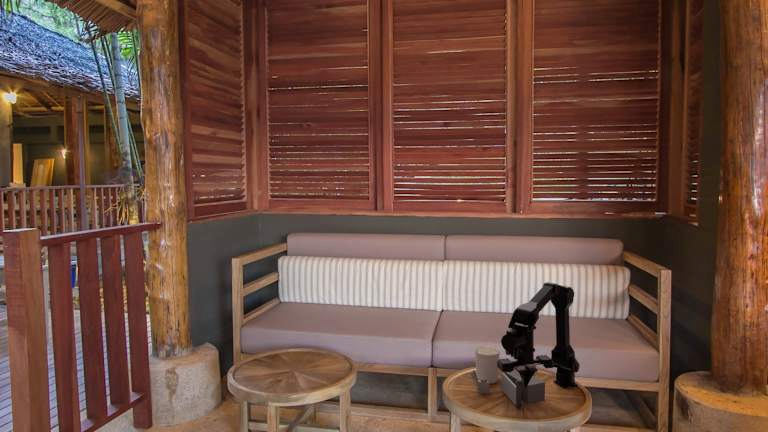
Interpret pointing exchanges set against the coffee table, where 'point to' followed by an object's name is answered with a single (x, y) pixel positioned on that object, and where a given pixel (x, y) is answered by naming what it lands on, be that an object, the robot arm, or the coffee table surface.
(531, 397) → the block
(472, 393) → the coffee table surface
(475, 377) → the lighter
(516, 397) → the side door
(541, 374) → the coffee table surface
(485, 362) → the candle holder
